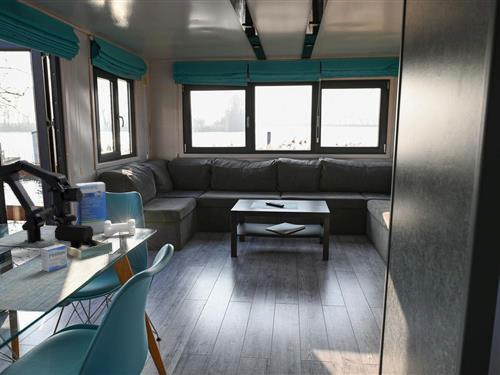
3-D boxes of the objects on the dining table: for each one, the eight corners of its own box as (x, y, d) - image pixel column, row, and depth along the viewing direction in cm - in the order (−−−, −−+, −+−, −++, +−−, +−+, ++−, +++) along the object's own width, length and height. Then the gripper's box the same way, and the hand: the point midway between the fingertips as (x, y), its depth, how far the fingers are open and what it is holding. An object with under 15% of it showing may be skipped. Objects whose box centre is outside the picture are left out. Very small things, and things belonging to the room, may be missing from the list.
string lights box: (104, 229, 207) (102, 181, 204) (107, 232, 201) (105, 183, 197) (77, 232, 200) (75, 183, 196) (80, 235, 194) (78, 185, 190)
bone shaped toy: (135, 233, 203) (134, 218, 202) (135, 236, 194) (135, 220, 194) (104, 235, 198) (104, 219, 197) (104, 238, 190) (103, 221, 189)
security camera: (90, 251, 170) (89, 229, 169) (54, 248, 174) (52, 226, 172) (99, 246, 177) (98, 225, 175) (64, 243, 181) (63, 222, 179)
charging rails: (53, 248, 173) (52, 239, 173) (82, 241, 185) (82, 233, 184) (82, 259, 159) (82, 250, 159) (112, 251, 171) (112, 242, 170)
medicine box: (48, 272, 145) (46, 250, 144) (41, 270, 147) (40, 248, 146) (67, 266, 151) (66, 245, 150) (61, 264, 154) (59, 243, 152)
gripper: (31, 201, 179) (34, 234, 181) (51, 206, 168) (54, 241, 170) (55, 198, 188) (57, 229, 190) (76, 202, 177) (78, 235, 179)
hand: (61, 233), depth 182 cm, fingers closed
